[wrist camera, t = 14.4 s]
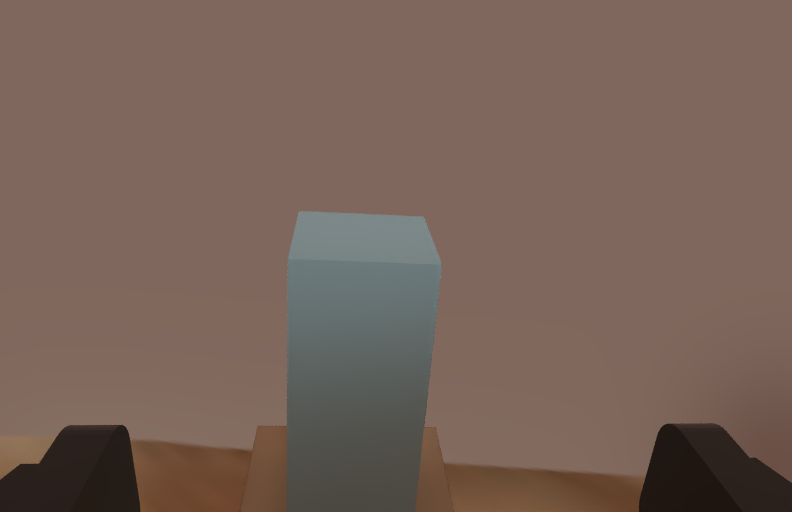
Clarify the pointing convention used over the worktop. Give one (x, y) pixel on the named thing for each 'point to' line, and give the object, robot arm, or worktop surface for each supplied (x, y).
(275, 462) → the block
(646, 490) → the robot arm
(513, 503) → the worktop surface
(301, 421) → the post
